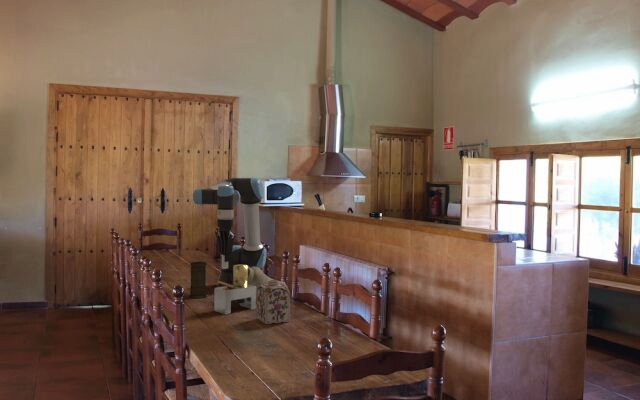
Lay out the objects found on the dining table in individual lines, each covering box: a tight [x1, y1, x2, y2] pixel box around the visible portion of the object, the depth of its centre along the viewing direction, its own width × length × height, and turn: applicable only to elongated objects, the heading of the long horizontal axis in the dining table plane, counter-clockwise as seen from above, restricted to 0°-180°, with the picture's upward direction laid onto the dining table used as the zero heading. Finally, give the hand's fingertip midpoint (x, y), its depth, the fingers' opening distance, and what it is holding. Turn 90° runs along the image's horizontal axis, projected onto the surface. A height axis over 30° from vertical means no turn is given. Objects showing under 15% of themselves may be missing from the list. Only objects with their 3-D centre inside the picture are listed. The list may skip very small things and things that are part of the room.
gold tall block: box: [233, 264, 248, 304], centre depth 268 cm, size 7×7×18 cm
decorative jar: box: [256, 279, 291, 325], centre depth 247 cm, size 12×12×18 cm
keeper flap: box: [216, 280, 235, 288], centre depth 262 cm, size 7×6×1 cm
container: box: [189, 261, 208, 299], centre depth 293 cm, size 9×9×18 cm
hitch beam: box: [213, 284, 257, 315], centre depth 266 cm, size 18×9×11 cm, turn 135°
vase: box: [245, 264, 286, 299], centre depth 287 cm, size 22×22×28 cm
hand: (224, 268), depth 261 cm, fingers closed
